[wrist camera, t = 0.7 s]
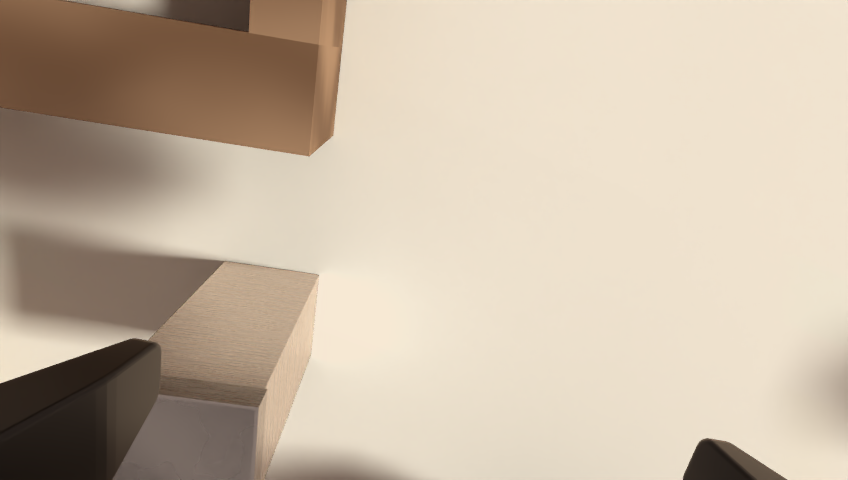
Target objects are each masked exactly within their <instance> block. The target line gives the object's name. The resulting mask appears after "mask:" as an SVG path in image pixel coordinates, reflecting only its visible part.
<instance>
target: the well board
mask: <svg viewBox="0 0 848 480" xmlns="http://www.w3.org/2000/svg"><path fill="white" fill-rule="evenodd" d="M346 2H347V0H250V15H249V32H247V31H241V30H235V29H229V28H223V27H217V26H211V25H206V24H200V23H194V22H188V21H182V20H176V19H170V18H164V17H159V16H153V15H147V14H141V13H135V12H129V11H123V10H117V9H112V8H106V7H100V6H94V5H88V4H82V3H76V2H70V1H65V0H0V107H1V108H7V109H13V110H20V111H26V112H32V113H39V114H45V115H51V116H58V117H64V118H70V119H77V120H83V121H89V122H96V123H102V124H108V125H115V126H121V127H127V128H134V129H140V130H146V131H153V132H159V133H165V134H172V135H178V136H184V137H191V138H197V139H203V140H210V141H216V142H222V143H229V144H235V145H241V146H248V147H254V148H260V149H267V150H273V151H279V152H286V153H292V154H298V155H305V156H310V155H311V154H312V153H313V152H315V151H316V150H317V149H318V148H319V147H320V146H322V145H323V144H324V143H325V142H326V141H327V140H328V139H330V138H331V137H332V136H333V131H334V121H335V111H336V101H337V92H338V82H339V72H340V62H341V52H342V42H343V32H344V22H345V12H346Z"/></svg>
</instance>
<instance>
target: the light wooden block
mask: <svg viewBox="0 0 848 480" xmlns="http://www.w3.org/2000/svg"><path fill="white" fill-rule="evenodd" d="M318 281H319V275H317V274H310V273H303V272H296V271H289V270H282V269H275V268H269V267H262V266H255V265H248V264H241V263H234V262H227V261H225V262H224V263H223V264H222V265H221V266H220V267H219V268H218V269H217V270H216V271H215V272H214V273H213V274H212V275H211V276H210V277H209V278H208V279H207V280H206V281H205V282H204V283H203V284H202V285H201V287H200V288H199V289H198V290H197V291H196V292H195V293H194V294H193V295H192V296H191V297H190V298H189V299H188V300H187V301H186V302H185V303H184V304H183V305H182V306H181V307H180V308H179V309H178V310H177V311H176V312H175V313H174V314H173V315H172V316H171V317H170V318H169V319H168V320H167V321H166V323H165V324H164V325H163V326H162V327H161V328H160V329H159V330H158V331H157V332H156V333H155V334H154V335H153V336H152V337H151V338H150V339H149V340H148V341H153V342H157V343H158V344H159V345H160V346H161V351H162V355H161V377H160V390H159V394H158V397H157V400H156V402H155V404H154V406H153V408H152V409H151V411H150V413H149V415H148V417H147V418H146V420H145V422H144V424H143V426H142V427H141V429H140V431H139V433H138V435H137V436H136V438H135V440H134V442H133V444H132V445H131V447H130V449H129V451H128V453H127V454H126V456H125V458H124V460H123V462H122V464H121V465H120V467H119V469H118V471H117V473H116V474H115V476H114V478H113V479H112V480H264V479H265V476H266V473H267V471H268V468H269V465H270V463H271V460H272V457H273V455H274V452H275V449H276V447H277V444H278V441H279V439H280V436H281V433H282V431H283V428H284V425H285V423H286V420H287V417H288V415H289V412H290V409H291V407H292V404H293V401H294V399H295V396H296V393H297V391H298V388H299V385H300V383H301V380H302V377H303V375H304V372H305V369H306V367H307V364H308V362H309V359H310V356H311V350H312V340H313V330H314V320H315V311H316V301H317V291H318Z"/></svg>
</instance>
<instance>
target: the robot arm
mask: <svg viewBox="0 0 848 480" xmlns="http://www.w3.org/2000/svg"><path fill="white" fill-rule="evenodd" d="M161 355H162V351H161V346H160V345H159V344H158V343H157V342H153V341H147V340H142V339H136V338H133V339H129V340H126V341H123V342H120V343H117V344H114V345H111V346H108V347H105V348H102V349H100V350H97V351H94V352H91V353H88V354H85V355H82V356H79V357H76V358H73V359H70V360H67V361H65V362H62V363H59V364H56V365H53V366H50V367H47V368H44V369H41V370H38V371H35V372H32V373H30V374H27V375H24V376H21V377H18V378H15V379H12V380H9V381H6V382H3V383H0V480H112V479H113V478H114V476H115V474H116V473H117V471H118V469H119V467H120V465H121V464H122V462H123V460H124V458H125V456H126V454H127V453H128V451H129V449H130V447H131V445H132V444H133V442H134V440H135V438H136V436H137V435H138V433H139V431H140V429H141V427H142V426H143V424H144V422H145V420H146V418H147V417H148V415H149V413H150V411H151V409H152V408H153V406H154V404H155V402H156V400H157V397H158V394H159V390H160V377H161ZM683 480H787V479H785V478H784V477H782V476H781V475H779V474H778V473H776V472H774V471H773V470H771V469H770V468H768V467H767V466H765V465H764V464H762V463H761V462H759V461H758V460H756V459H754V458H753V457H751V456H750V455H748V454H747V453H745V452H744V451H742V450H741V449H739V448H737V447H736V446H734V445H733V444H731V443H729V442H726V441H721V440H715V439H709V438H706V439H703V440H701V441H700V442H699V443H698V445H697V447H696V449H695V451H694V453H693V456H692V458H691V460H690V462H689V464H688V467H687V469H686V471H685V473H684V476H683Z"/></svg>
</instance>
